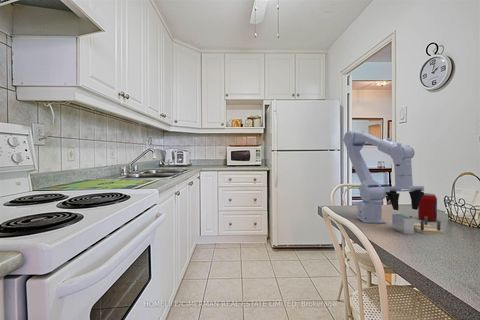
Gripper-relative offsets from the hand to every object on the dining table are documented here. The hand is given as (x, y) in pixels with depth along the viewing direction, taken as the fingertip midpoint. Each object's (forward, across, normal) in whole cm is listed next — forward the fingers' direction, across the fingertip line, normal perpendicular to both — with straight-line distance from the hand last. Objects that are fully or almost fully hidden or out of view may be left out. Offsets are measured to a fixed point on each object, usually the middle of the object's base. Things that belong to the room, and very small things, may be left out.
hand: (405, 209), depth 93 cm
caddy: (+9, +8, +2) cm, 12 cm away
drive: (+9, -1, +1) cm, 9 cm away
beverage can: (+8, +21, +16) cm, 28 cm away
